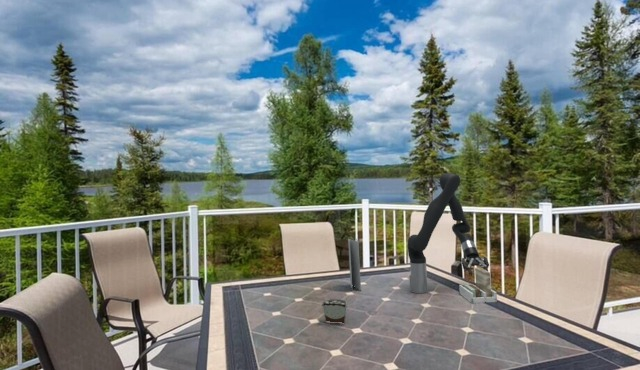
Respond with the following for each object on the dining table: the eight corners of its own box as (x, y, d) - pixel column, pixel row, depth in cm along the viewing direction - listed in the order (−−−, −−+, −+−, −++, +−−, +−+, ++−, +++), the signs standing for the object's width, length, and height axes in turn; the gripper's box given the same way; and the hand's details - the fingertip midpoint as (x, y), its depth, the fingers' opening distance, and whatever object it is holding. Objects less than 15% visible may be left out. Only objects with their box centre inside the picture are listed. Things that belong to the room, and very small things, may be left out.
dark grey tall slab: (361, 290, 226) (358, 241, 226) (351, 291, 226) (349, 242, 226) (359, 284, 240) (356, 238, 240) (350, 285, 240) (348, 238, 240)
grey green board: (485, 301, 196) (484, 272, 196) (476, 294, 208) (474, 267, 208) (491, 300, 196) (490, 272, 196) (481, 294, 208) (480, 267, 208)
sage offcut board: (472, 301, 197) (471, 289, 197) (464, 295, 207) (464, 284, 207) (476, 301, 197) (475, 289, 197) (468, 295, 207) (468, 284, 207)
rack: (471, 303, 194) (471, 293, 194) (459, 293, 211) (459, 284, 211) (496, 301, 194) (496, 292, 194) (482, 292, 211) (482, 283, 211)
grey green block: (476, 301, 197) (476, 289, 197) (469, 295, 207) (468, 284, 207) (480, 300, 197) (479, 289, 197) (472, 295, 207) (472, 284, 207)
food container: (351, 320, 178) (350, 299, 178) (347, 324, 172) (346, 303, 172) (326, 318, 182) (325, 298, 182) (322, 322, 176) (321, 301, 176)
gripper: (459, 247, 215) (468, 271, 204) (483, 245, 215) (494, 269, 204) (456, 254, 221) (464, 278, 209) (480, 253, 221) (490, 277, 209)
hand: (479, 274), depth 207 cm, fingers open, 8 cm apart
